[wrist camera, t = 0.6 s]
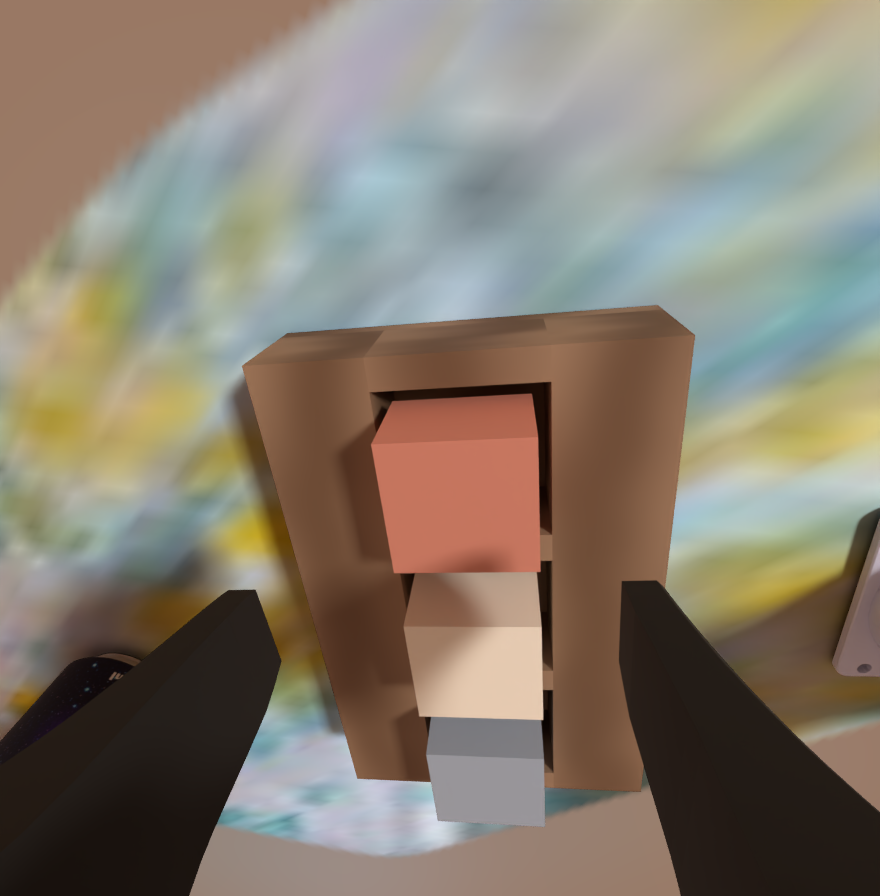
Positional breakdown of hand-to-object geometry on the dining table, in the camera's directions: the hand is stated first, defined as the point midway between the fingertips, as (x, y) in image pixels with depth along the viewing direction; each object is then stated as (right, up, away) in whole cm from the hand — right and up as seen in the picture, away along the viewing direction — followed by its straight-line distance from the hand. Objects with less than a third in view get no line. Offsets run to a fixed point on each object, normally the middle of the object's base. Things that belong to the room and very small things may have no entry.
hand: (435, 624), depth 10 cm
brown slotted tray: (+2, -1, +11) cm, 11 cm away
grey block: (+2, -8, +11) cm, 13 cm away
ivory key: (+1, -2, +8) cm, 9 cm away
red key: (+1, +3, +5) cm, 6 cm away
